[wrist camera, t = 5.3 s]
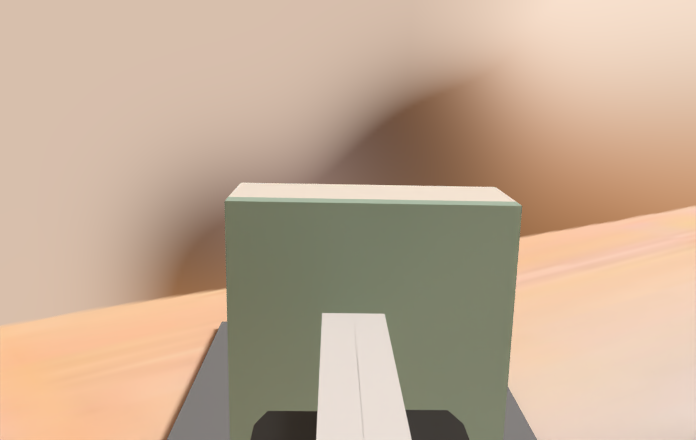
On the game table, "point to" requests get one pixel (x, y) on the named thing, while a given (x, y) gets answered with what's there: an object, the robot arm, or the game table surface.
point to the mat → (213, 402)
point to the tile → (372, 293)
